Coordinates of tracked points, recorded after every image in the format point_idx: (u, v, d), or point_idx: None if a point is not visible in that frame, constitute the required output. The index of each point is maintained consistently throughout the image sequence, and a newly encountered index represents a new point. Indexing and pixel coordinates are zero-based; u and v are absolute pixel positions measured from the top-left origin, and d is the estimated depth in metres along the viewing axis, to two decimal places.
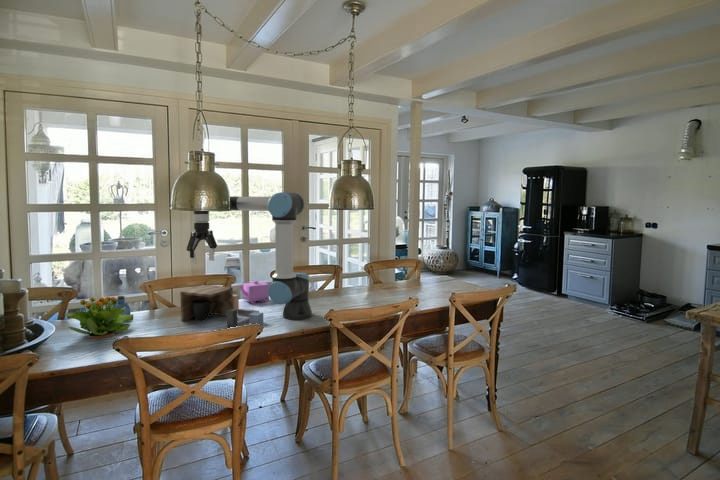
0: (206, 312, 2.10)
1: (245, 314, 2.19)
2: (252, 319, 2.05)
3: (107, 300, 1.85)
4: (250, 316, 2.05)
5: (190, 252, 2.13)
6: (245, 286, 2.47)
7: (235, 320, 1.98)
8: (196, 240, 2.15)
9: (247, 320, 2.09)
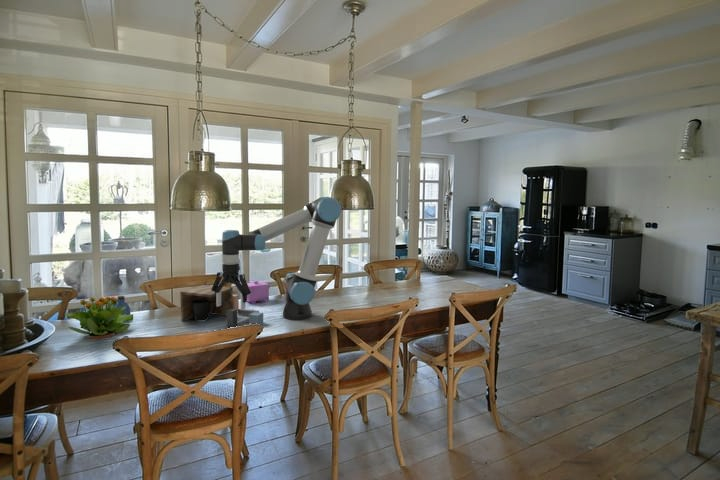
0: (206, 312, 2.10)
1: (245, 314, 2.19)
2: (252, 319, 2.05)
3: (107, 300, 1.85)
4: (250, 316, 2.05)
5: None
6: None
7: (235, 320, 1.98)
8: None
9: (247, 320, 2.09)
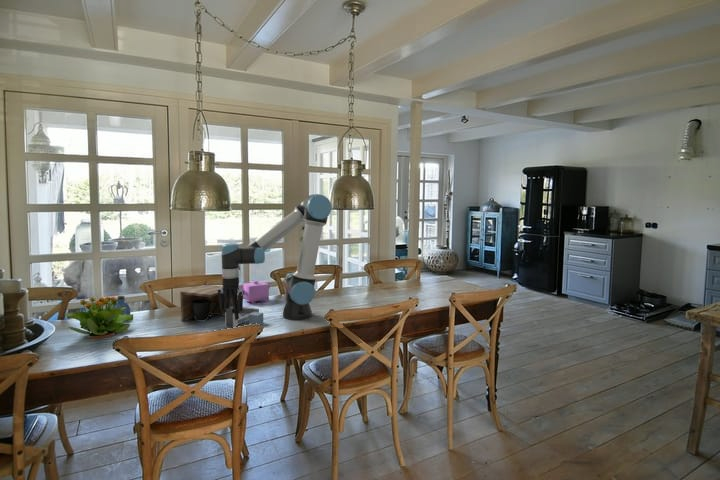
0: (206, 312, 2.10)
1: (245, 312, 2.19)
2: (252, 319, 2.05)
3: (107, 300, 1.85)
4: (250, 316, 2.05)
5: None
6: (245, 286, 2.47)
7: None
8: None
9: (247, 318, 2.08)
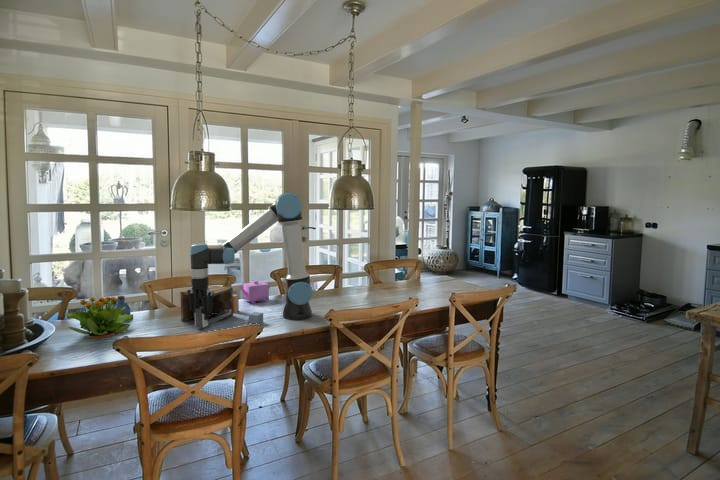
0: None
1: (217, 312, 2.18)
2: (252, 319, 2.05)
3: (107, 300, 1.85)
4: (250, 316, 2.05)
5: None
6: (245, 286, 2.47)
7: None
8: None
9: (218, 318, 2.07)
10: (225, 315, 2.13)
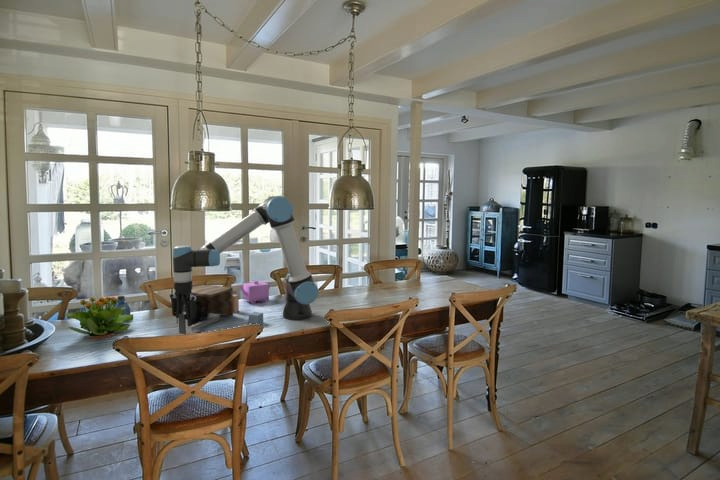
0: None
1: (206, 316, 2.08)
2: (252, 319, 2.05)
3: (107, 300, 1.85)
4: (250, 316, 2.05)
5: None
6: (245, 286, 2.47)
7: None
8: None
9: (204, 323, 1.97)
10: (213, 320, 2.03)
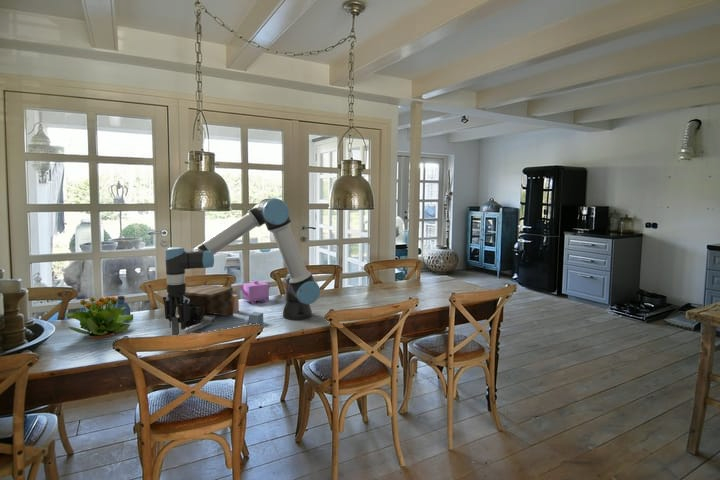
0: None
1: (200, 319, 2.04)
2: (252, 319, 2.05)
3: (107, 300, 1.85)
4: (250, 316, 2.05)
5: None
6: (245, 286, 2.47)
7: None
8: None
9: (198, 326, 1.93)
10: (208, 323, 1.99)
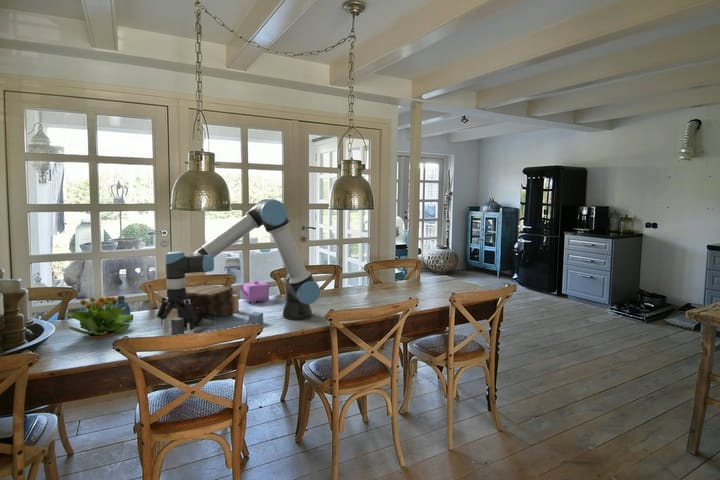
0: None
1: (200, 322, 2.04)
2: (252, 319, 2.05)
3: (107, 300, 1.85)
4: (250, 316, 2.05)
5: None
6: (245, 286, 2.47)
7: (181, 330, 1.83)
8: None
9: (198, 329, 1.93)
10: (207, 326, 1.99)
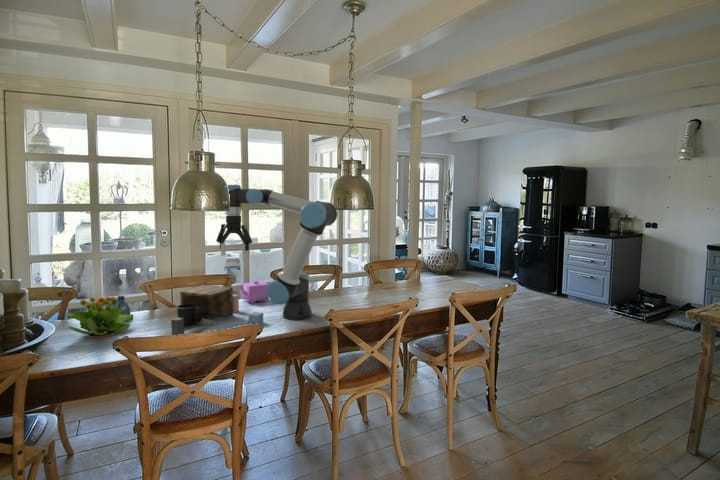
0: (187, 318, 2.00)
1: (200, 322, 2.04)
2: (252, 319, 2.05)
3: (107, 300, 1.85)
4: (250, 316, 2.05)
5: None
6: (245, 286, 2.47)
7: (181, 330, 1.83)
8: None
9: (198, 329, 1.93)
10: (207, 326, 1.99)
